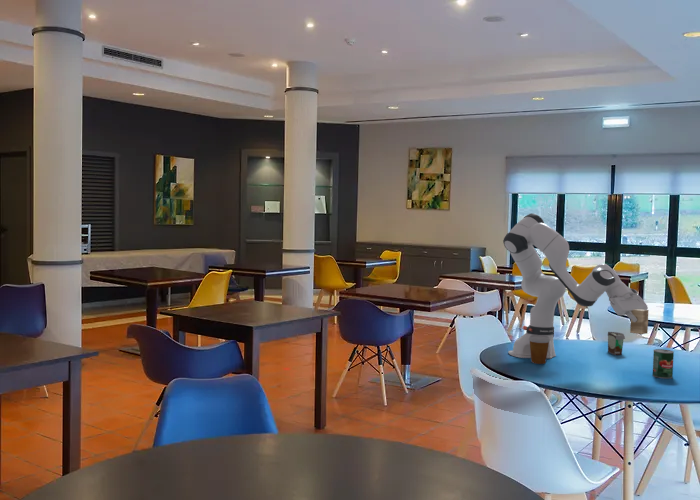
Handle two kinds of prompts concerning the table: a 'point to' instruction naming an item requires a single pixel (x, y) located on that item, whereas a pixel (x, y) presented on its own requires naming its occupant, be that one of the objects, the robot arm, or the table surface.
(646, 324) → the oak block
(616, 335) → the food container
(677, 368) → the table surface
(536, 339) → the disposable coffee cup
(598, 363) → the table surface
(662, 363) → the canned tomato
